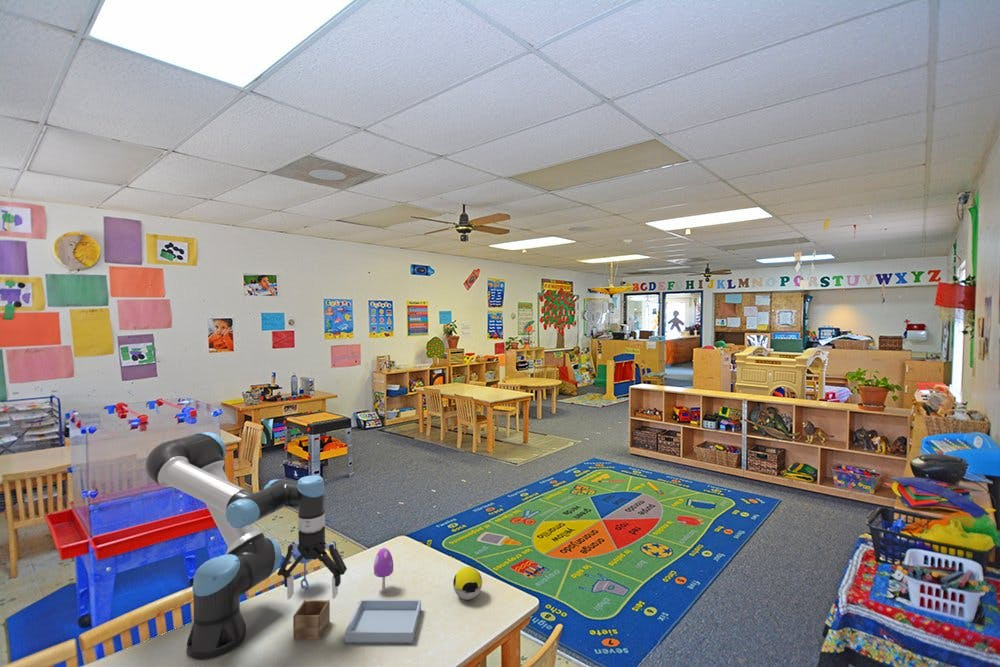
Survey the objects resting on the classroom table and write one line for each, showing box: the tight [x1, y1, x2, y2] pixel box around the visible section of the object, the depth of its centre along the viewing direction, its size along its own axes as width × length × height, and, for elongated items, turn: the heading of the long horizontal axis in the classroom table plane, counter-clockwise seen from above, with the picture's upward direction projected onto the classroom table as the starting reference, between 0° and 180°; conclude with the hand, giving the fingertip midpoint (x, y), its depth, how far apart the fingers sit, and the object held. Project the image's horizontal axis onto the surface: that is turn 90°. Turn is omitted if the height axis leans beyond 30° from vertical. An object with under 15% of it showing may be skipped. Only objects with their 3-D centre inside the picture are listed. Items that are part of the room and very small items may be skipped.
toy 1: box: [373, 547, 394, 592], centre depth 163 cm, size 7×7×15 cm
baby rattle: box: [292, 540, 313, 590], centre depth 164 cm, size 9×9×18 cm
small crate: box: [292, 599, 331, 640], centre depth 142 cm, size 8×8×7 cm
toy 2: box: [452, 566, 483, 601], centre depth 160 cm, size 10×10×10 cm
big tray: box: [344, 599, 422, 645], centre depth 145 cm, size 20×16×4 cm
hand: (312, 596), depth 142 cm, fingers open, 13 cm apart
